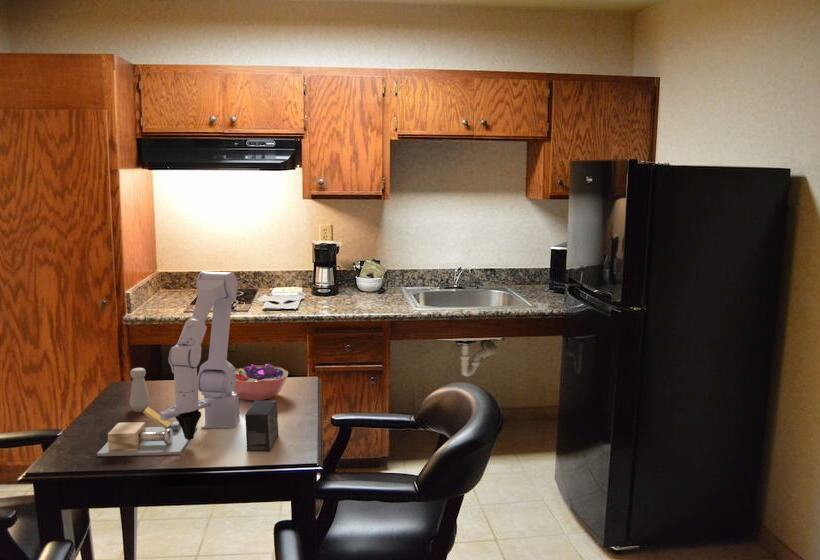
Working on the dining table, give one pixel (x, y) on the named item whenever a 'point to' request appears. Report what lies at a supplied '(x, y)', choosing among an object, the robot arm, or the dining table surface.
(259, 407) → the small box
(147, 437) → the pin
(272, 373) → the cell model
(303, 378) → the dining table surface
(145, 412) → the tab
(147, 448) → the board
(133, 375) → the salt shaker
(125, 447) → the block
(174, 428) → the block
